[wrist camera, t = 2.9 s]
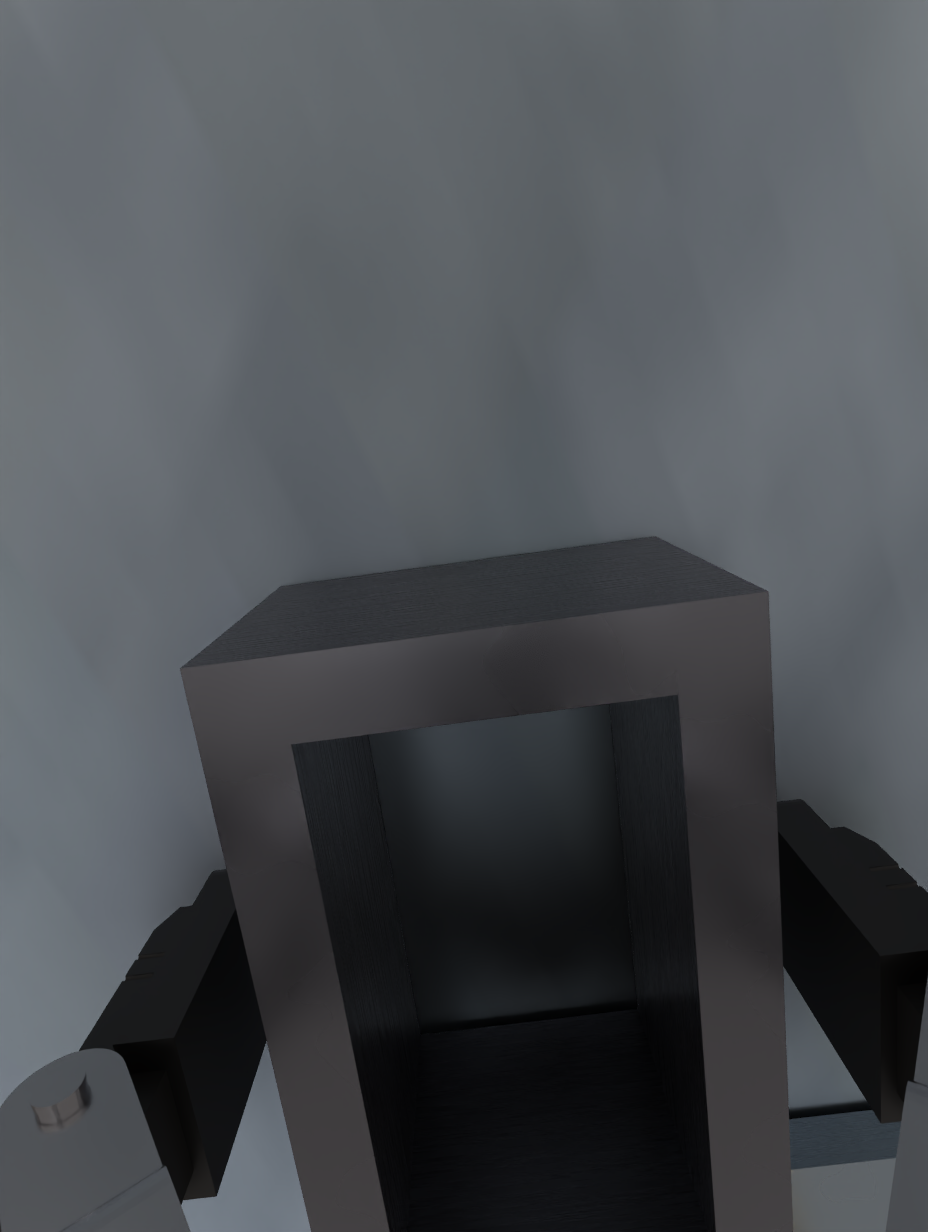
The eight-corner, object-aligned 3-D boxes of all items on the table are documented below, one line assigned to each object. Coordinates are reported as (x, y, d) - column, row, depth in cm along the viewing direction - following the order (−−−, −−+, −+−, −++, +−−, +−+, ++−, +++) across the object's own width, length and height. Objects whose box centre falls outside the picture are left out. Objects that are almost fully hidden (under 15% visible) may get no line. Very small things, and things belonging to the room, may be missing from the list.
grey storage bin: (280, 586, 12) (180, 669, 8) (655, 536, 12) (768, 591, 8) (377, 1083, 14) (341, 1363, 10) (693, 1046, 14) (797, 1314, 10)
